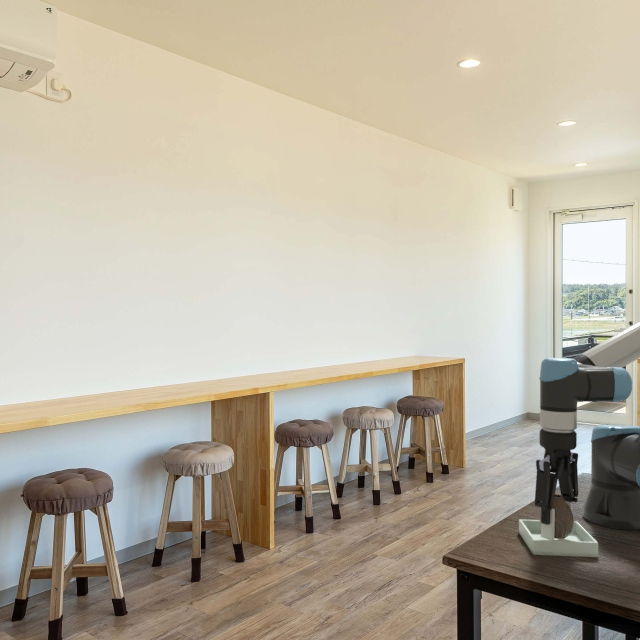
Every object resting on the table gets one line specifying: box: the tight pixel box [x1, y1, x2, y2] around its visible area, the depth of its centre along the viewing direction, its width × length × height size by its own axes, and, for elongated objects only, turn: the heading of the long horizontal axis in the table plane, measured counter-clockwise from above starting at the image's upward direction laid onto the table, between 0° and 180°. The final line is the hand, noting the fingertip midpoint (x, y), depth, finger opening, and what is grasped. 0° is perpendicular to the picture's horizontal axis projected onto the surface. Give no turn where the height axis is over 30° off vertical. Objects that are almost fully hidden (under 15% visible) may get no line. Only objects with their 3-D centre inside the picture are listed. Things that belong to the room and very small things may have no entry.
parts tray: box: [518, 519, 599, 558], centre depth 134 cm, size 13×13×3 cm
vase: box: [539, 493, 575, 539], centre depth 134 cm, size 7×7×9 cm
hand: (556, 534), depth 134 cm, fingers closed on vase, 7 cm apart
